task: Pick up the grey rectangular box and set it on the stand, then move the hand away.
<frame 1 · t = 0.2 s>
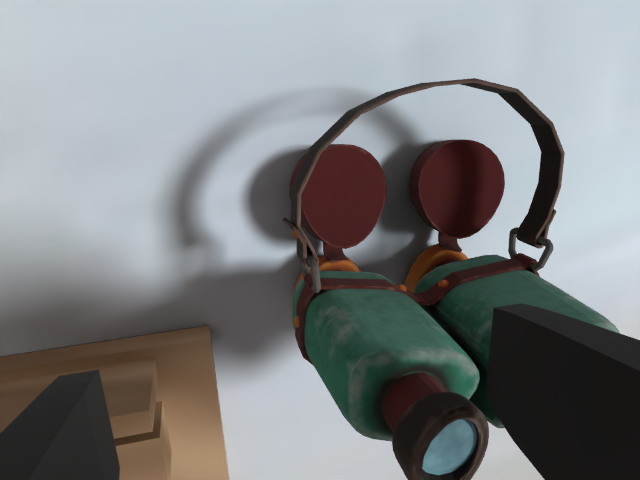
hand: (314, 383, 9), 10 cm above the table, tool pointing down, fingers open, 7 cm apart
binoculars: (381, 205, 20), on the table
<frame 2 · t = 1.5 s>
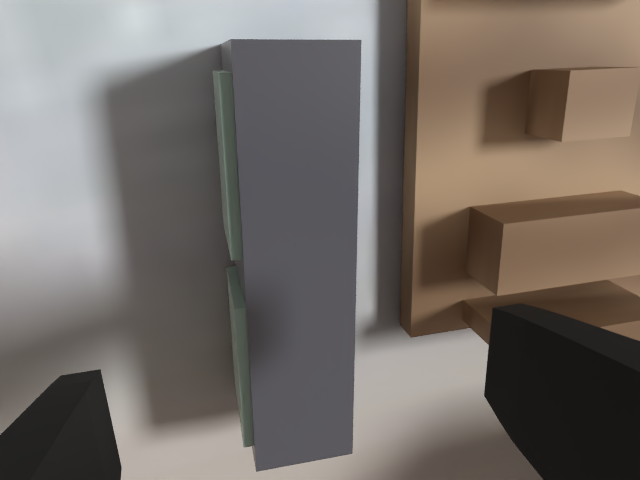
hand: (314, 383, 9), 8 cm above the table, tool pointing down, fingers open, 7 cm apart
stand: (540, 98, 17), on the table
grey rectangular box: (277, 235, 17), on the table
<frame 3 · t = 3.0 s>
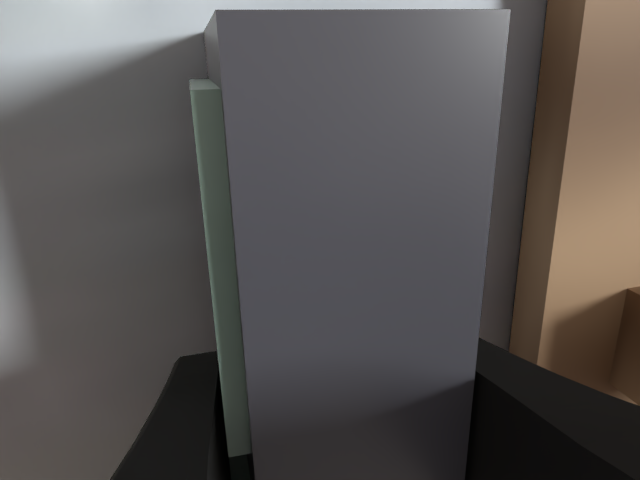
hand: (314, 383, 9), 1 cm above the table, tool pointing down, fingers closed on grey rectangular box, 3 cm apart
grey rectangular box: (305, 340, 11), on the table, touching gripper
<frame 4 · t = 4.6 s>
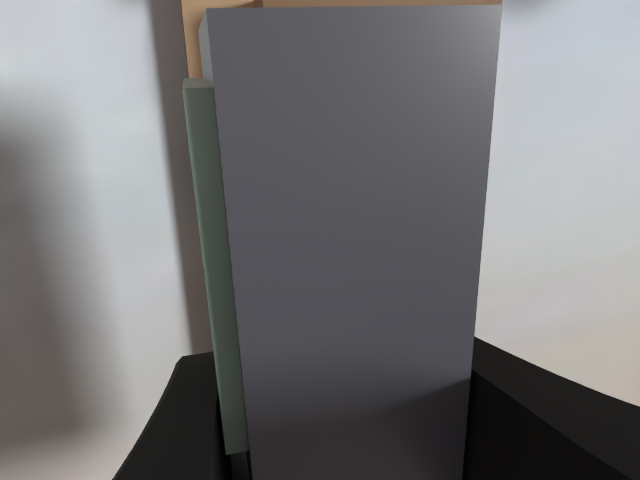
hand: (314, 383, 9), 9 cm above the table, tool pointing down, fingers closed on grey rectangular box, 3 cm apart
stand: (344, 180, 18), on the table
grey rectangular box: (303, 337, 11), point 8 cm above the table, touching gripper
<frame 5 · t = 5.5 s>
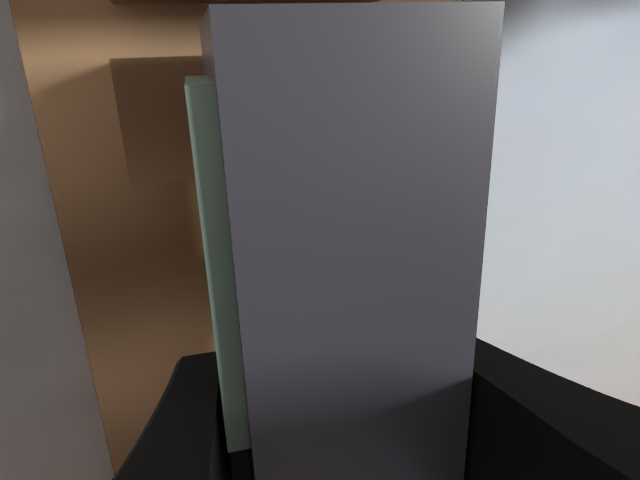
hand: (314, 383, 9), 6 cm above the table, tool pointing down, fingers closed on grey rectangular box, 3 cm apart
stand: (268, 264, 15), on the table
grey rectangular box: (304, 336, 11), point 4 cm above the table, touching gripper
when the fingers open (6 cm above the table, at t = 6.3 s): grey rectangular box drops 1 cm, resting on stand.
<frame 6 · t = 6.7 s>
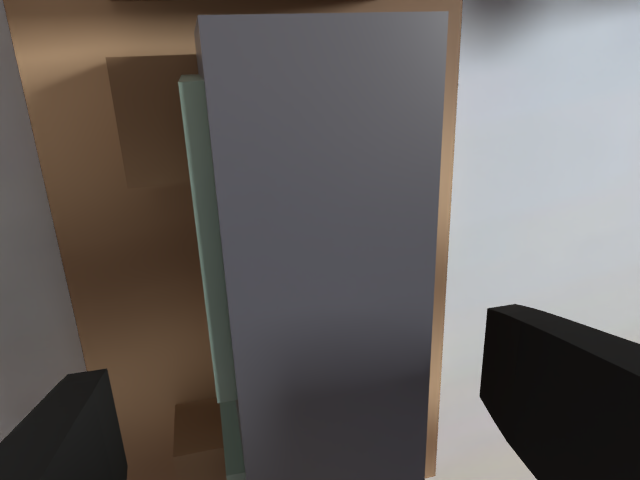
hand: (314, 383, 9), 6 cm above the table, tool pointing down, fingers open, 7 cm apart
stand: (269, 267, 14), on the table
grey rectangular box: (291, 313, 12), point 3 cm above the table, touching stand
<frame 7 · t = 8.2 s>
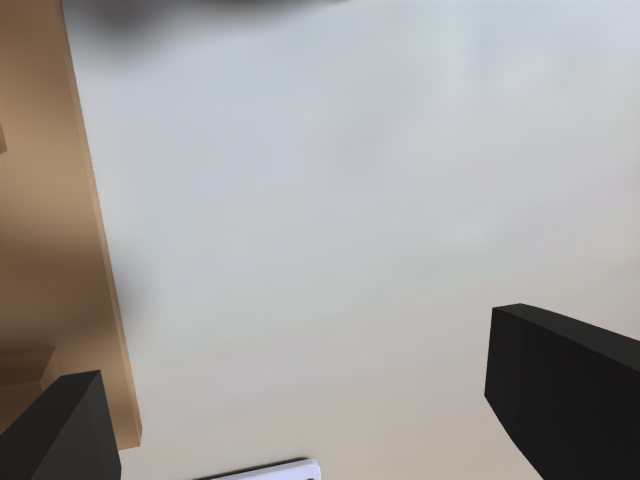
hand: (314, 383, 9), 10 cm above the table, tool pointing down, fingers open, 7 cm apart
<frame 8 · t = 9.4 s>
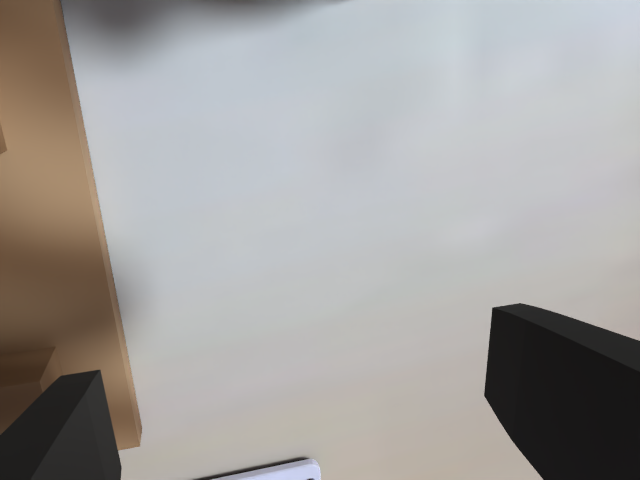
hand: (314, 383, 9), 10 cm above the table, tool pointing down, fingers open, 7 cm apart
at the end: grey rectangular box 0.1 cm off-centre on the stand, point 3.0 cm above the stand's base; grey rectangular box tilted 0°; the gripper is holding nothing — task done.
